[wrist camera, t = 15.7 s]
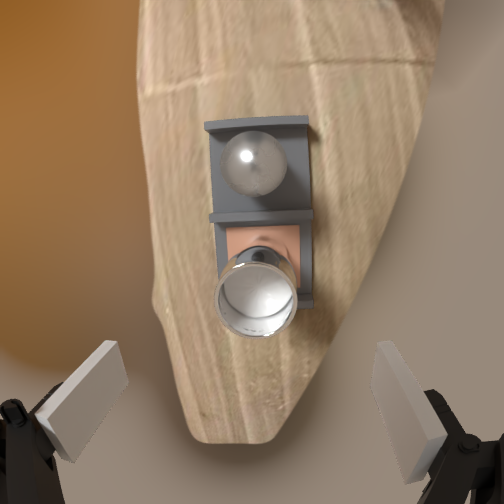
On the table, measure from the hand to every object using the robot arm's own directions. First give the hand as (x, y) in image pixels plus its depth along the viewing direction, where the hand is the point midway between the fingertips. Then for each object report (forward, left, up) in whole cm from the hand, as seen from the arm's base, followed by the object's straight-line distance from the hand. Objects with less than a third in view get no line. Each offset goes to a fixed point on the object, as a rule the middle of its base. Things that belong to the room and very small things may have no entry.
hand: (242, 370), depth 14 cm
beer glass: (0, 0, -25) cm, 25 cm away
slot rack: (-4, +3, -26) cm, 26 cm away
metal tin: (-8, +7, -25) cm, 27 cm away
